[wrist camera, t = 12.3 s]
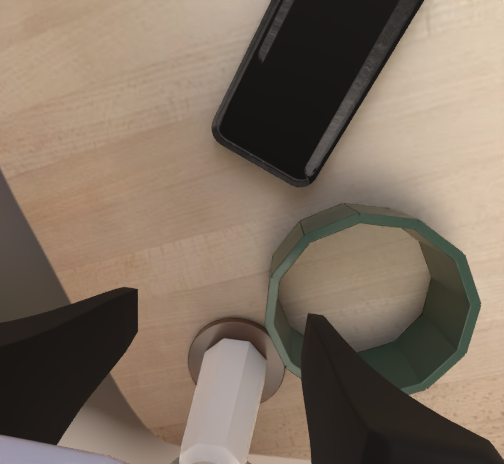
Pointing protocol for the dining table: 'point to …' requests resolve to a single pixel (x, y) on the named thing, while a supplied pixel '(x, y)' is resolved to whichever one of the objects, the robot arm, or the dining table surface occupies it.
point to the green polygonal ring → (421, 331)
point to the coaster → (243, 332)
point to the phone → (307, 80)
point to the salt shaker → (224, 405)
